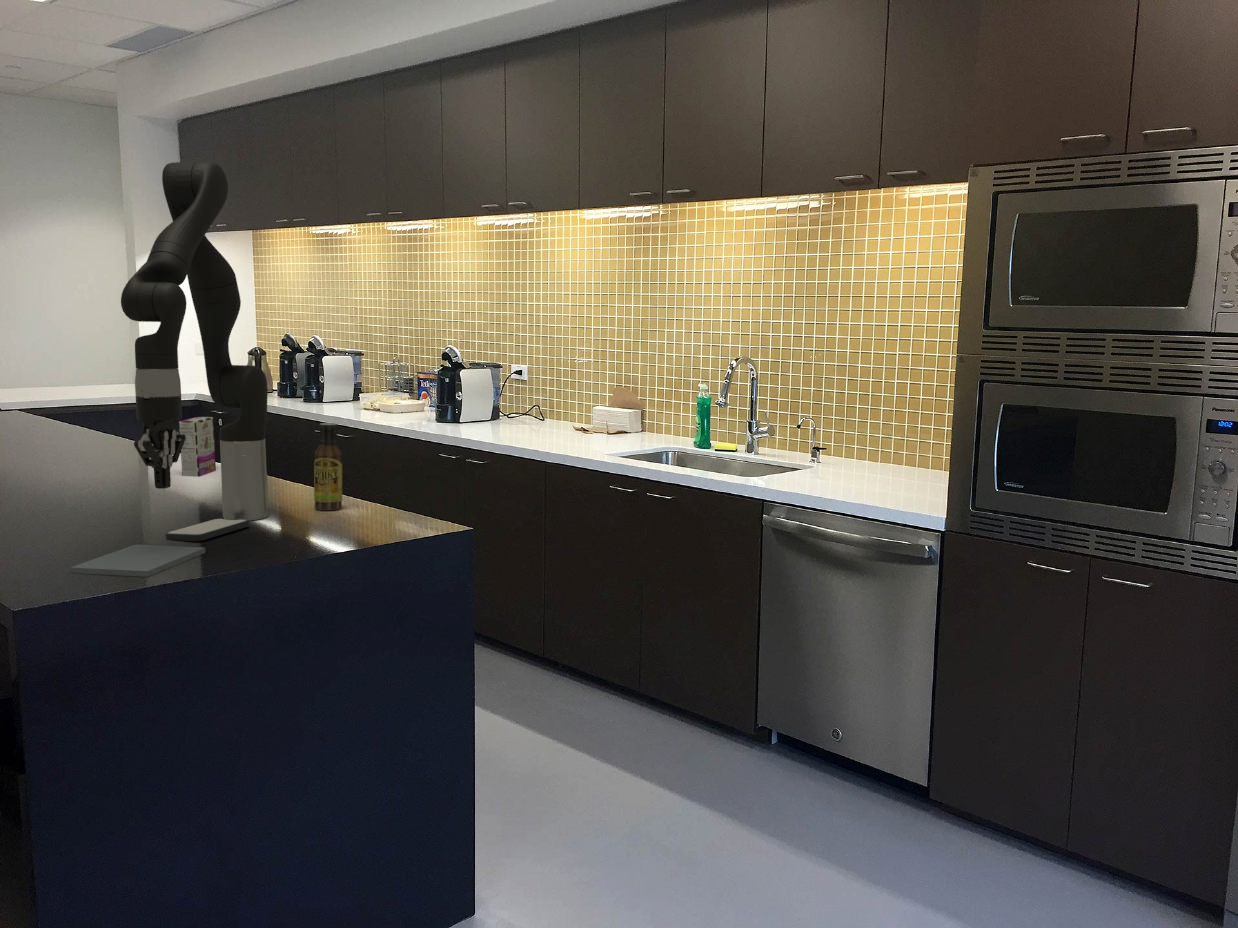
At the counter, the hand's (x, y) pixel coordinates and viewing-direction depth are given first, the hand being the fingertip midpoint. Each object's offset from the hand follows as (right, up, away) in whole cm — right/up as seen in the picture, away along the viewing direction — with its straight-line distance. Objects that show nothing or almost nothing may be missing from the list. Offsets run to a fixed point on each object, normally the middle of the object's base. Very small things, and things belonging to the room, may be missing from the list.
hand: (162, 487), depth 180 cm
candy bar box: (-31, 0, +89) cm, 94 cm away
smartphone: (-2, -10, +11) cm, 15 cm away
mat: (-1, -13, -6) cm, 14 cm away
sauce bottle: (+17, -6, +47) cm, 50 cm away
